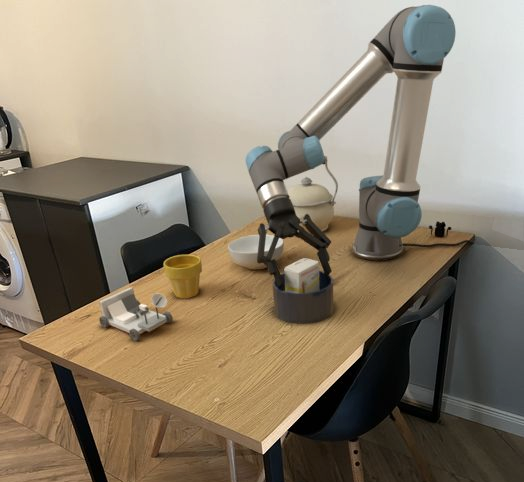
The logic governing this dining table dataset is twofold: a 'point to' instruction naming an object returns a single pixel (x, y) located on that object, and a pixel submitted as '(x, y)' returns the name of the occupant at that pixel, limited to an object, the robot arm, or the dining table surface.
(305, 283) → the ink box
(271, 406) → the dining table surface
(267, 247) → the cereal bowl
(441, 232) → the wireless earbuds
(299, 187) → the kettle
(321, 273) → the dark blue round tub
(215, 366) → the dining table surface
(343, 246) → the dining table surface
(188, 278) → the flower pot
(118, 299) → the toy car
